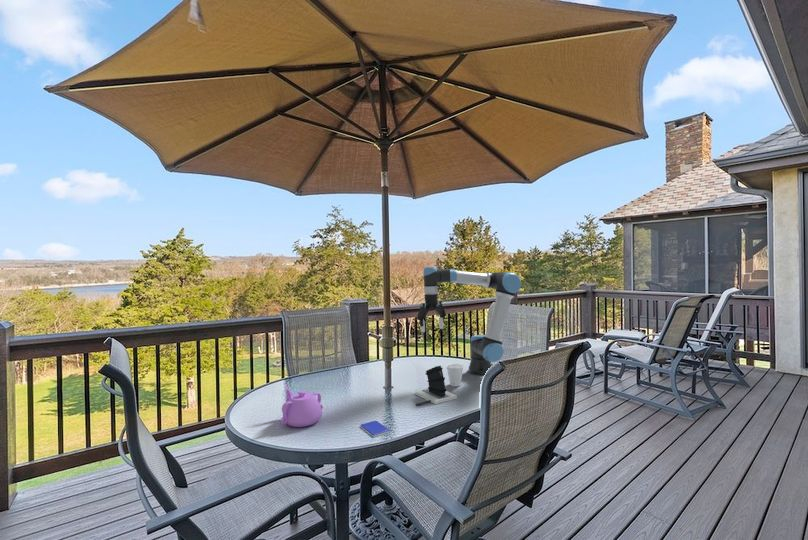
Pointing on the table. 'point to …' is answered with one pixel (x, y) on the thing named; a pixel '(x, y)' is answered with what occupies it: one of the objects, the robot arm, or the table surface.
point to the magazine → (436, 381)
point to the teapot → (301, 409)
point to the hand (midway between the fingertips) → (432, 330)
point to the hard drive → (375, 428)
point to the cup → (455, 374)
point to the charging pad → (434, 397)
